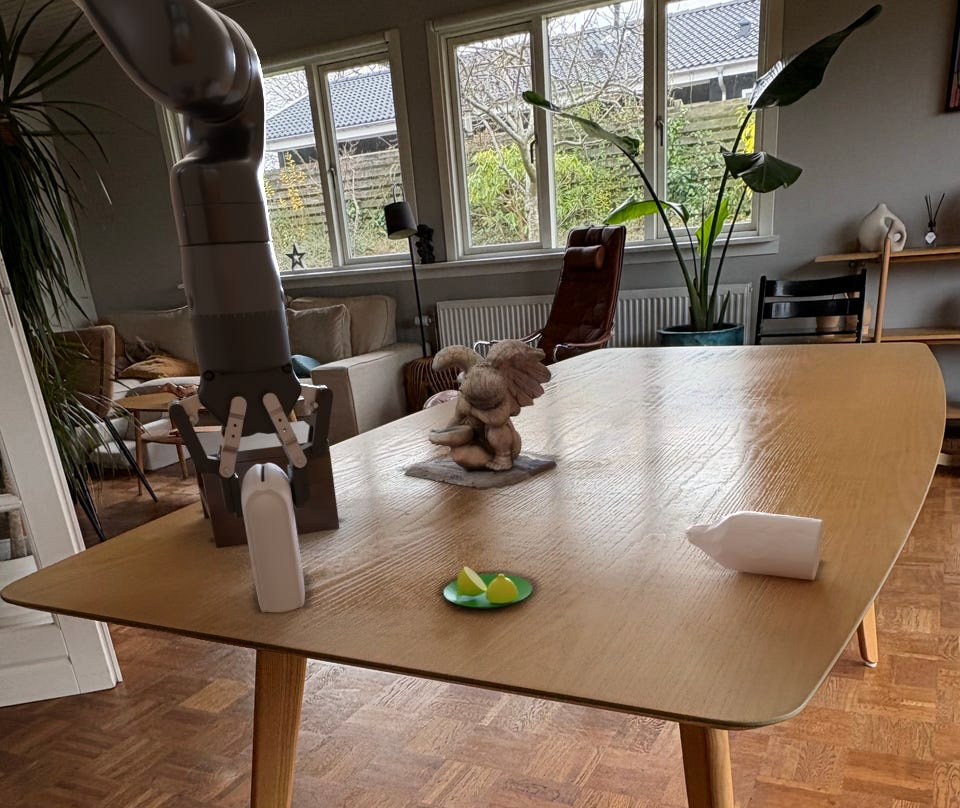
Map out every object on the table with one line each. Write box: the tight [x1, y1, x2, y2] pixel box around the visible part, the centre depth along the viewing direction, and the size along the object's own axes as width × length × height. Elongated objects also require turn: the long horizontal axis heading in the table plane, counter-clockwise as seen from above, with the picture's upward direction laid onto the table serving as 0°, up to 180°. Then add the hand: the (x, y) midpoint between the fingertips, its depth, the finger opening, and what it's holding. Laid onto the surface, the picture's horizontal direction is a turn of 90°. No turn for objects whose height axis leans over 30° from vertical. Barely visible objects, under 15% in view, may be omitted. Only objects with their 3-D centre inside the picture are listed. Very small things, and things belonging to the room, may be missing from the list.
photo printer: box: [241, 463, 306, 613], centre depth 75 cm, size 10×4×12 cm, turn 13°
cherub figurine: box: [403, 338, 557, 490], centre depth 116 cm, size 18×18×18 cm
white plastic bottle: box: [684, 510, 825, 581], centre depth 77 cm, size 6×12×6 cm, turn 63°
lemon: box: [443, 566, 533, 610], centre depth 75 cm, size 8×8×3 cm
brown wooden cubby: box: [193, 420, 340, 548], centre depth 99 cm, size 14×14×10 cm
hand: (269, 511), depth 74 cm, fingers closed on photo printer, 4 cm apart
